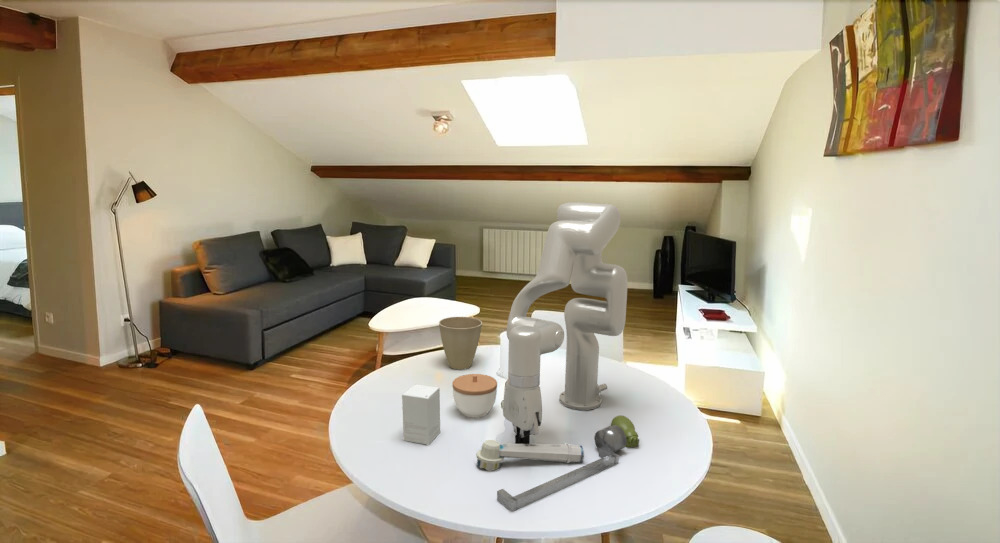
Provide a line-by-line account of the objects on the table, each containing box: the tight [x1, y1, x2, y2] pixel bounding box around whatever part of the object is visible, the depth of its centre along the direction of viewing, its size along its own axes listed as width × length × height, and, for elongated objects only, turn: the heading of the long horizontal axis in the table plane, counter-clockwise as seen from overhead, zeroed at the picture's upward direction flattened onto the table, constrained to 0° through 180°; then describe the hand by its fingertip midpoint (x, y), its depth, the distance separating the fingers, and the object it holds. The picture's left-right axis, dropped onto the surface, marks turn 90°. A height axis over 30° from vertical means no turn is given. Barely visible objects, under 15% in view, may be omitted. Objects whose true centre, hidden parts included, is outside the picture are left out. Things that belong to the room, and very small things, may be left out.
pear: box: [610, 415, 640, 448], centre depth 139 cm, size 6×5×10 cm
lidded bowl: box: [452, 373, 498, 419], centre depth 152 cm, size 13×13×11 cm
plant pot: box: [438, 316, 483, 371], centre depth 187 cm, size 15×15×16 cm
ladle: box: [496, 425, 627, 513], centre depth 123 cm, size 37×8×6 cm, turn 126°
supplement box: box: [401, 383, 441, 446], centre depth 138 cm, size 7×7×13 cm
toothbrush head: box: [476, 439, 585, 472], centre depth 127 cm, size 5×7×25 cm
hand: (522, 449), depth 131 cm, fingers closed
